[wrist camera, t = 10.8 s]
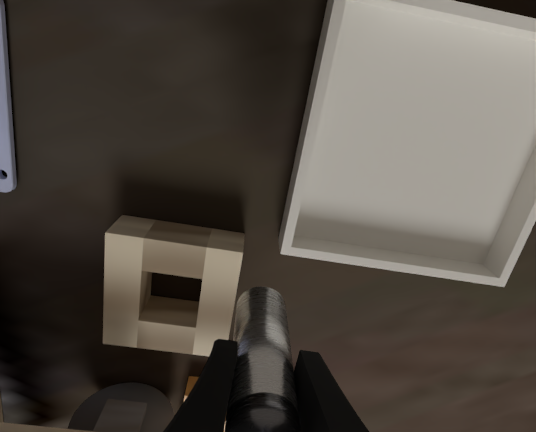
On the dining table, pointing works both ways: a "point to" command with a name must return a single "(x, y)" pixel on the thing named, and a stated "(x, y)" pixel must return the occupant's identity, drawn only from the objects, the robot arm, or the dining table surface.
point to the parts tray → (417, 141)
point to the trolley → (113, 412)
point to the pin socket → (173, 263)
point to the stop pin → (262, 367)
